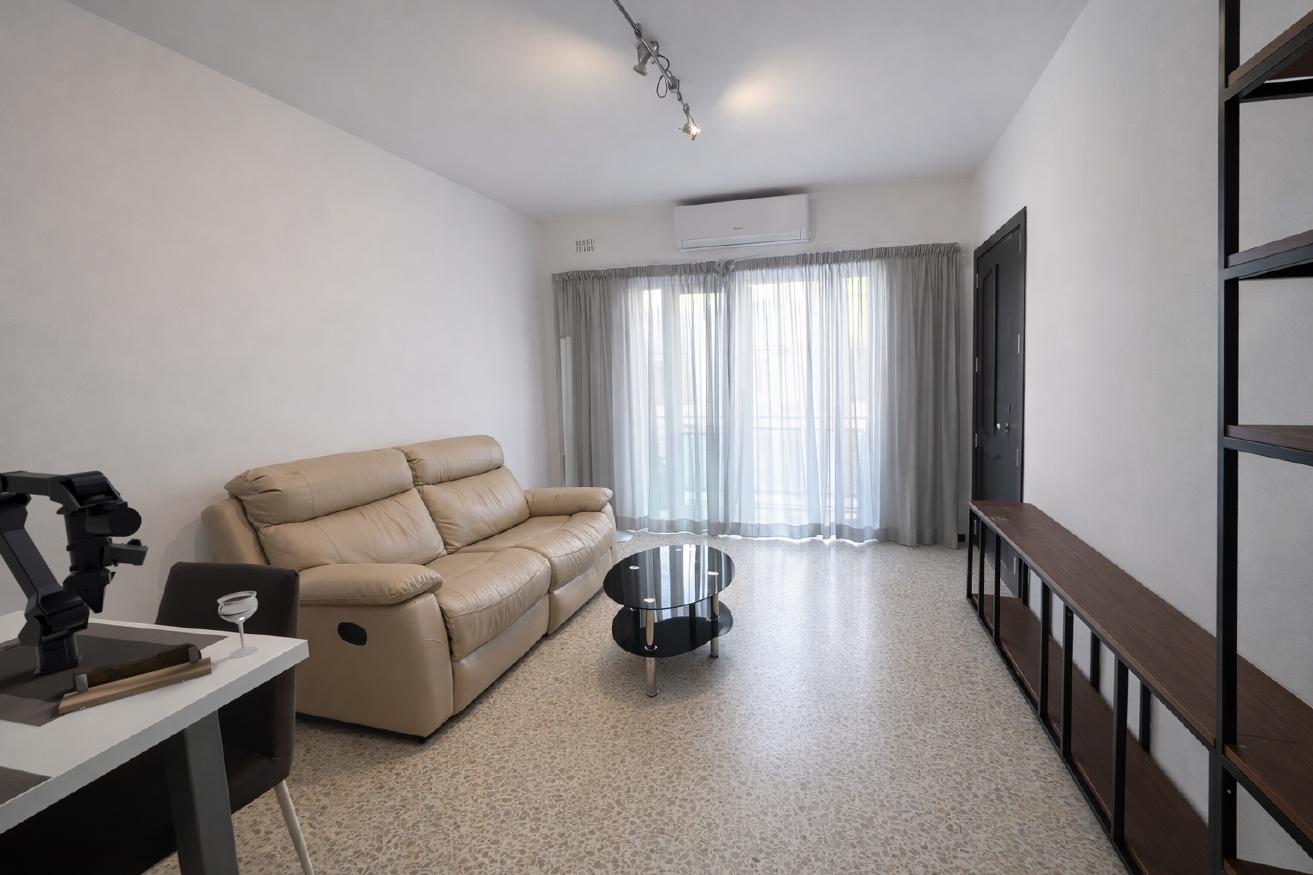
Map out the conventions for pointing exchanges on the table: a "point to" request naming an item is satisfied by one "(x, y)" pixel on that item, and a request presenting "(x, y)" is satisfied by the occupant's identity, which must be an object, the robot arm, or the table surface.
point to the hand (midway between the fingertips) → (98, 612)
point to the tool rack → (134, 683)
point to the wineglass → (239, 615)
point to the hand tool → (136, 665)
